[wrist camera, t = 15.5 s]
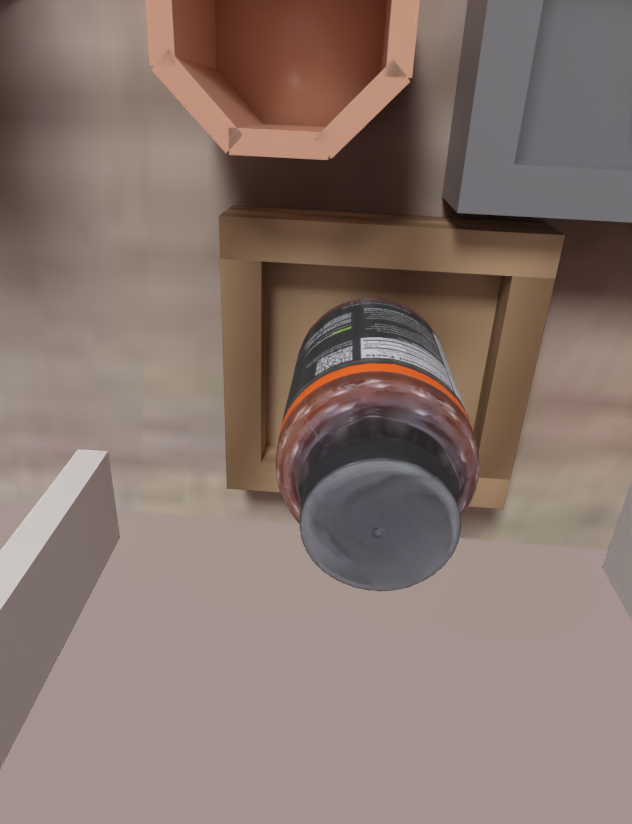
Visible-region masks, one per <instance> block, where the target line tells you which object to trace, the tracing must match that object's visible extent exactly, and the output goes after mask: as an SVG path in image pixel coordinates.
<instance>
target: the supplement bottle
mask: <svg viewBox="0 0 632 824" xmlns="http://www.w3.org/2000/svg"><path fill="white" fill-rule="evenodd" d="M275 463H276V477H277V482H278V487H279V490H280V493H281V495H282V498H283V500H284V502H285V504H286V506H287V507H288V509H289V511H290V512H291V514H292V515H293V516H294V518H295V519H296V520H297V521H298V523H299V524H300V531H301V538H302V541H303V544H304V546H305V548H306V551H307V553H308V554H309V555H310V557H311V559H312V560H313V561H314V563H315V564H316V565H317V566H318V567H319V568H321V569H322V571H324V572H325V573H327V574H328V575H330V576H331V577H332V578H335V579H336V580H338V581H340V582H342V583H345V584H348V585H350V586H352V587H356V588H361V589H365V590H376V591H390V590H396V589H401V588H407V587H410V586H412V585H415V584H417V583H419V582H421V581H424V580H426V579H427V578H429V577H430V576H432V575H434V574H435V573H436V572H437V571H438V570H440V569H441V568H442V567H443V566H444V565H445V564H446V562H447V561H448V560H449V558H450V557H451V556H452V554H453V553H454V551H455V549H456V546H457V544H458V541H459V536H460V529H461V516H462V515H463V514H464V512H465V510H466V509H467V508H468V506H469V504H470V503H471V501H472V498H473V496H474V493H475V491H476V486H477V483H478V477H479V453H478V446H477V443H476V438H475V435H474V432H473V429H472V426H471V424H470V420H469V416H468V414H467V411H466V409H465V406H464V404H463V402H462V398H461V396H460V393H459V391H458V388H457V386H456V383H455V381H454V377H453V375H452V372H451V370H450V367H449V364H448V362H447V360H446V356H445V354H444V352H443V349H442V347H441V345H440V342H439V340H438V338H437V337H436V335H435V333H434V332H433V330H432V329H431V327H430V325H429V324H428V323H427V322H426V320H424V319H423V318H422V316H420V315H419V314H418V313H417V312H415V311H414V310H412V309H410V308H409V307H407V306H405V305H403V304H400V303H398V302H395V301H392V300H387V299H382V298H360V299H357V300H352V301H348V302H345V303H342V304H340V305H338V306H336V307H334V308H332V309H331V310H329V311H328V312H327V313H325V314H324V315H323V316H321V317H320V318H319V319H318V320H317V321H316V322H315V323H314V325H313V326H312V327H311V328H310V330H309V331H308V333H307V335H306V337H305V339H304V341H303V343H302V346H301V348H300V351H299V354H298V358H297V362H296V365H295V370H294V375H293V379H292V383H291V387H290V391H289V395H288V399H287V404H286V408H285V411H284V416H283V420H282V425H281V429H280V433H279V440H278V445H277V450H276V461H275Z"/></svg>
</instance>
